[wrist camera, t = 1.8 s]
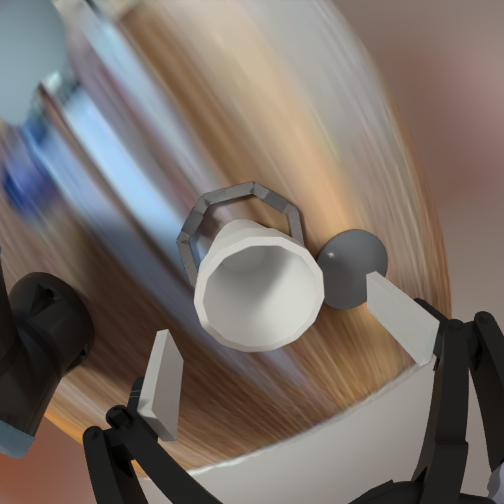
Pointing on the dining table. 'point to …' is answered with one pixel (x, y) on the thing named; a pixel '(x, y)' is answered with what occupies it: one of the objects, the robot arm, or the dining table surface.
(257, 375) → the dining table surface
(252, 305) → the foam cup
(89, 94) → the dining table surface
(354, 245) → the coaster
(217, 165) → the dining table surface
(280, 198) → the collar
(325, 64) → the dining table surface
